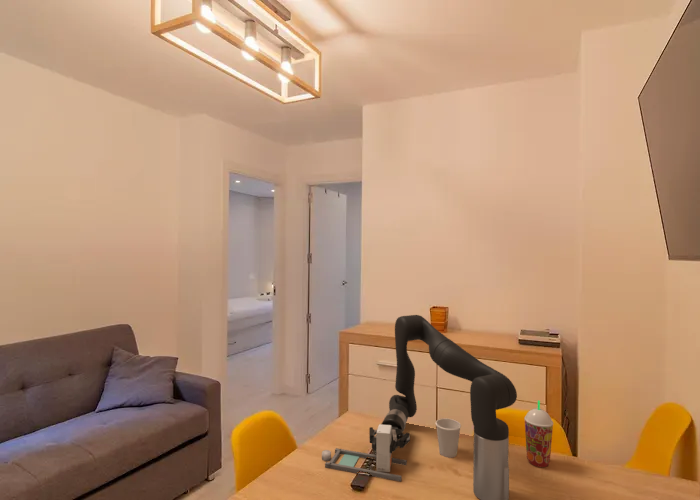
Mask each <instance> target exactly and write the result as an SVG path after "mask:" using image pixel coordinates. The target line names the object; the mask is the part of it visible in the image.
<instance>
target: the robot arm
mask: <svg viewBox="0 0 700 500" xmlns="http://www.w3.org/2000/svg"><path fill="white" fill-rule="evenodd" d="M394 341H395V342H394V343H395V344H394V345H395V355H396V356H395V357H396V376H395V385H394V387H395V388H394V389H395V390H396V392H397V393H399V394H394V395H392V396H391V397H390V399H389V402H388V409H389V410H388V413H387V414H386V415H385V416H384V419H383V420H382V422H381V424H382V425H391V426H392V442H391V444H390V453H392V454H393V453H394V452H395V451H396V450H397V449H398V447H399V449H403V448H405V446H407V445H408V443H410V440H411V437H410V436H411V434H410V432H405V433H404V431H405V429H406V425H407V422H408V419H409V418H413V417H414V416H415V415H416V414H417V410H418V407H417V401H416V397H415V396H416V395H415V377H416V369H415V367H414V364H413V362H412V360H411V358H410V355H409V353H408V343H409V342H410V341H411V342H412V341H421V342H424V343H425V344H427V346H428V353H429V356H430V358H431V360H432V361H433V362H434V363H435V364H436V366H438V367H439V368H441V370H443V371H445V373H448V374H450V375H452V376H455V377H458V378H461V379H463V380H467V381H469V382H471V384H470V387H469V388H470V389H469V390H470V391H469V393H470V394H469V396H470V416H471V421H472V425H473V466H472V467H473V472H472V473H473V477H472V478H473V483H472V486H473V488H472V489H473V491H472V492H473V493H474V495H475V498H478V499H479V500H510V465H509V453H510V452H509V449H510V448H509V447H510V446H509V445H510V444H509V443H510V442H509V441H510V440H509V438H510V436H509V435H510V434H509V433H510V432H509V429H510V428H509V426H508V424H507V422H506V421H504V420H502V419H501V418H498V417H497V411H498V410H501V409H502V410H503V409H506V408H509V407H511V406H513V405H514V404H515V403H516V401H517V399H518V394H517V392H518V391H517V389H516V386H515V384H513V382H512V380H510V379H509V377H507V376H506V375H505V374H503V372H502V373H501V372H500V371H498V370H496V369H494V368H493V367H491V366H489V365H487V364H486V363H484V362H482V361H481V360H479V359H478V358H476V357H475V356H474V355H472V354H471V353H469V352H468V351H466V350H465V349H463V348H462V347H461V346H460V345H458V344H457V343H455V342H454V341H453V340H452V339H450V338H448V337H447V336H445V335H444V334H443V333H442V332H440V331H439V330H438V329H437V328H435V327H434V325H432V324H431V323H430V322H429V321H428V320H427V319H426V318H425V317H424V316H423V315H419V314H410V315H401V316H399V317H397V318H396V320H395V323H394ZM400 394H401V395H400ZM368 430H369V433H368V434H369V437H368V438H369V439H368V440H369V444H371V449H372V451H376V433H377V429H375V428H374V427H371V426H370V427H369V429H368Z"/></svg>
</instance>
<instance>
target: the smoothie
mask: <svg viewBox="0 0 700 500" xmlns="http://www.w3.org/2000/svg"><path fill="white" fill-rule="evenodd" d="M553 427H554V421H553V420H552V418H551V416H550V414H549V413H548V412H547V411H545V410H544V409H542V408H541V401H540V400H537V407H536V408H532V409H530V410H529V411H527V413H526V415H525V416H524V431H525V446H526V449H525V450H526V452H525V453H526V458H527V459H528V463H529V464H531V465H532V466H535V467H538V468H546V467H548V465H549V464H550V462H551V455H552V454H551V451H552V440H553Z"/></svg>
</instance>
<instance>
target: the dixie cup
mask: <svg viewBox="0 0 700 500" xmlns="http://www.w3.org/2000/svg"><path fill="white" fill-rule="evenodd" d="M435 426H436V435H437V443H438V444H437V445H438V452H439V454H440V455H441V457H445V458H449V459H450V458H455V457H457V455H458V448H459V447H458V446H459V439H460V433H461V432H460V431H461V428H462V424H461V423H460V421H457V420H455V419H453V418H448V417H447V418H446V417H445V418H439V419H437V420H436V421H435Z"/></svg>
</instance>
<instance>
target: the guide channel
mask: <svg viewBox="0 0 700 500" xmlns="http://www.w3.org/2000/svg"><path fill="white" fill-rule="evenodd" d="M341 455H342V457H341V458H340V461H339V462H338V463H336V462H337V460H338V459H339V457H340V456H341ZM367 457H375V458H376V454H371V453H366V452H362V451H355V450H349V449H342V448H337V447H336V448H335V449H334V454H333V456H332V451H331V450H329V449H325V450H322V451H321V460H322V461H325V463H324V468H327V469H331V470H337V471H342V472H347V473H353V474H358V473H357V472H359V471H363V472H368V473H370V474H371V475H372V476H371V477H375V478H379V479H386V480H390V481H395V482H400V483H401V482H402V475H399V474H393V473H390V472H381V471H377V470H371V469H367V468H361V467H355V465H356V464H357V462H358V461H359V459H360V458H362V459H366V458H367ZM407 461H408V460H407V459H401V458H397V457H396V458H395V457H392V463H391V464H393V465H394V464H395V465H399V466H400V465H401V466H407V463H408V462H407Z"/></svg>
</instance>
